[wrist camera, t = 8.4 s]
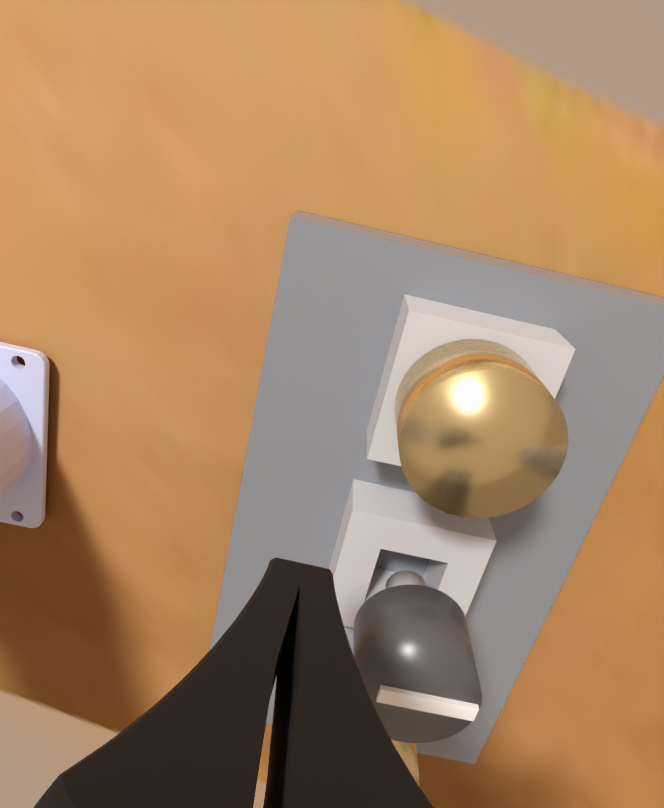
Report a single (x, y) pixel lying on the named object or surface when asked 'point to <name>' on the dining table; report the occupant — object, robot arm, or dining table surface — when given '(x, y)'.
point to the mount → (378, 446)
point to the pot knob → (416, 660)
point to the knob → (478, 429)
